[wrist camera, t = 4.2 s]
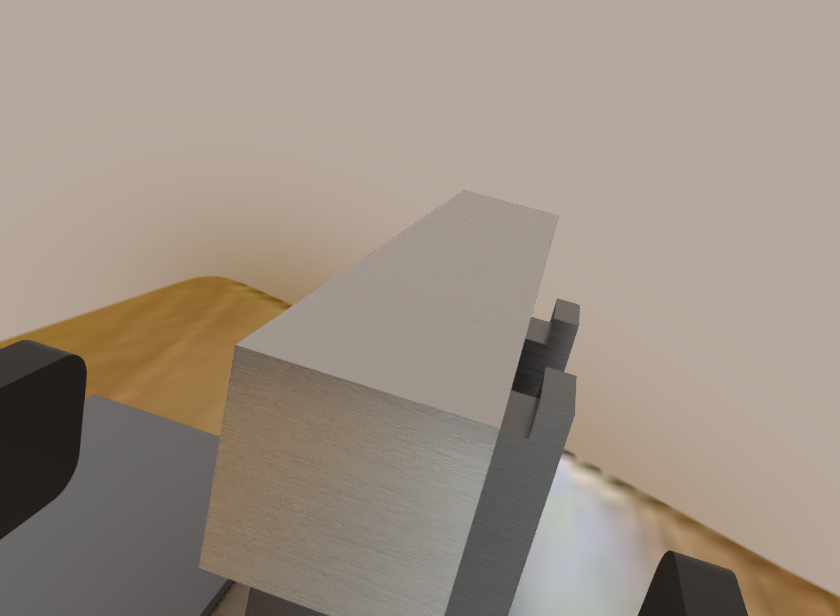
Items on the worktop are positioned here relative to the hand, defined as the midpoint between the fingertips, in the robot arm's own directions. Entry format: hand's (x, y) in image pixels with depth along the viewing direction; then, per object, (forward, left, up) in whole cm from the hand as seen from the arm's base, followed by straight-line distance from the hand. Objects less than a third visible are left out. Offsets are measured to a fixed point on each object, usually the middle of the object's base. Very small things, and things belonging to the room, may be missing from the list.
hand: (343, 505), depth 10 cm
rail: (-5, -7, -2) cm, 9 cm away
